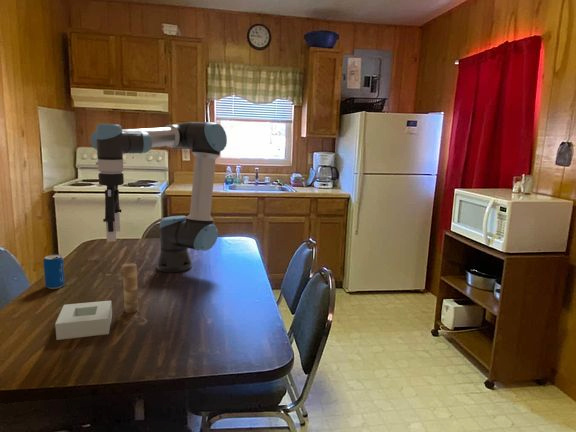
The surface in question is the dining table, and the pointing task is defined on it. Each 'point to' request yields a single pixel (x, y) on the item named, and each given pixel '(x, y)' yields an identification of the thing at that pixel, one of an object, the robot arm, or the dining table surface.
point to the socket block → (84, 320)
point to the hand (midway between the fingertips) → (113, 236)
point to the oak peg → (130, 287)
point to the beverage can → (54, 271)
